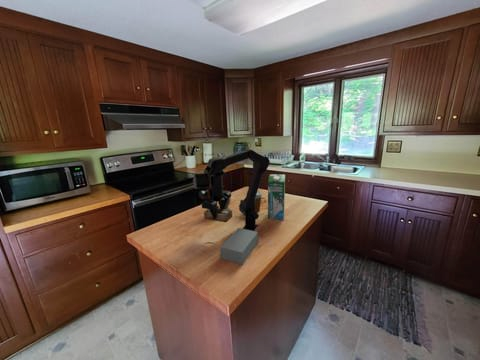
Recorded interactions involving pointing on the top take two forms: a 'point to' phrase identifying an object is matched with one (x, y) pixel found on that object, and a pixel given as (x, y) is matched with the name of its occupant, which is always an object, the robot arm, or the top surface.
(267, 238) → the top surface
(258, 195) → the disposable coffee cup
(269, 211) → the milk carton
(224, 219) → the walnut tray
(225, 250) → the grey shelf
